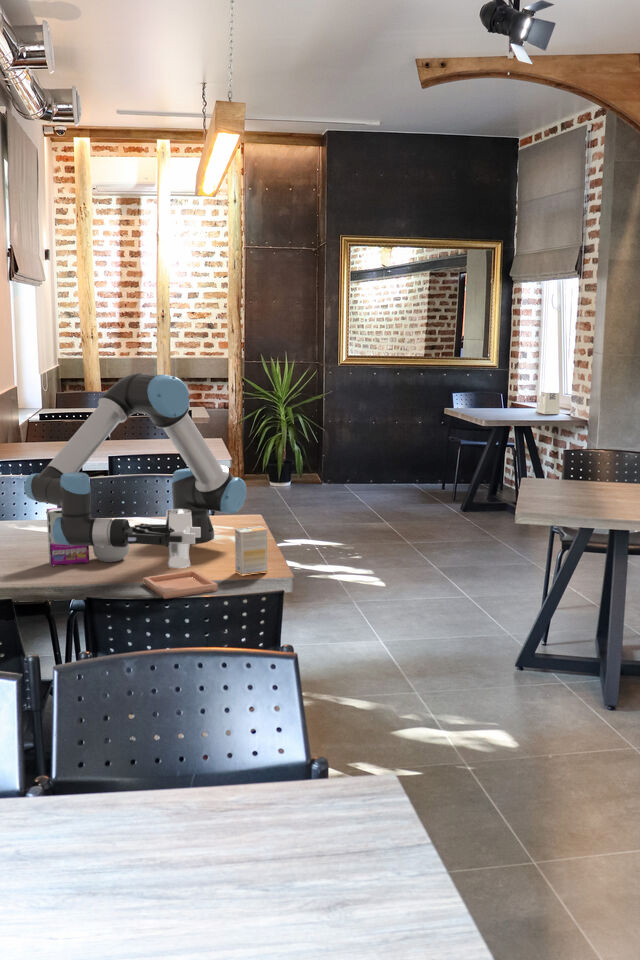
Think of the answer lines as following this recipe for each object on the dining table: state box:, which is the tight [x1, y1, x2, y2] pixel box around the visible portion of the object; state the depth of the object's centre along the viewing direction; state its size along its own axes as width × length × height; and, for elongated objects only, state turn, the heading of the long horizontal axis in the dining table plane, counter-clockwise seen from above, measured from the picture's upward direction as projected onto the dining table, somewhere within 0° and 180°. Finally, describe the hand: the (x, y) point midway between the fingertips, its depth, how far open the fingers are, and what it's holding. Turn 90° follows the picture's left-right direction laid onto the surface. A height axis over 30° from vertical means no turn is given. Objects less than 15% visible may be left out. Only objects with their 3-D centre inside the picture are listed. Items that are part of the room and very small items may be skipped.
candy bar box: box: [46, 507, 90, 567], centre depth 263 cm, size 11×5×16 cm, turn 114°
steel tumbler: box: [165, 508, 192, 570], centre depth 240 cm, size 7×7×15 cm
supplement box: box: [234, 525, 268, 575], centre depth 256 cm, size 8×5×13 cm, turn 117°
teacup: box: [92, 544, 130, 563], centre depth 270 cm, size 14×11×8 cm
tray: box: [143, 569, 218, 600], centre depth 243 cm, size 15×15×2 cm
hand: (197, 535), depth 240 cm, fingers closed on steel tumbler, 7 cm apart
